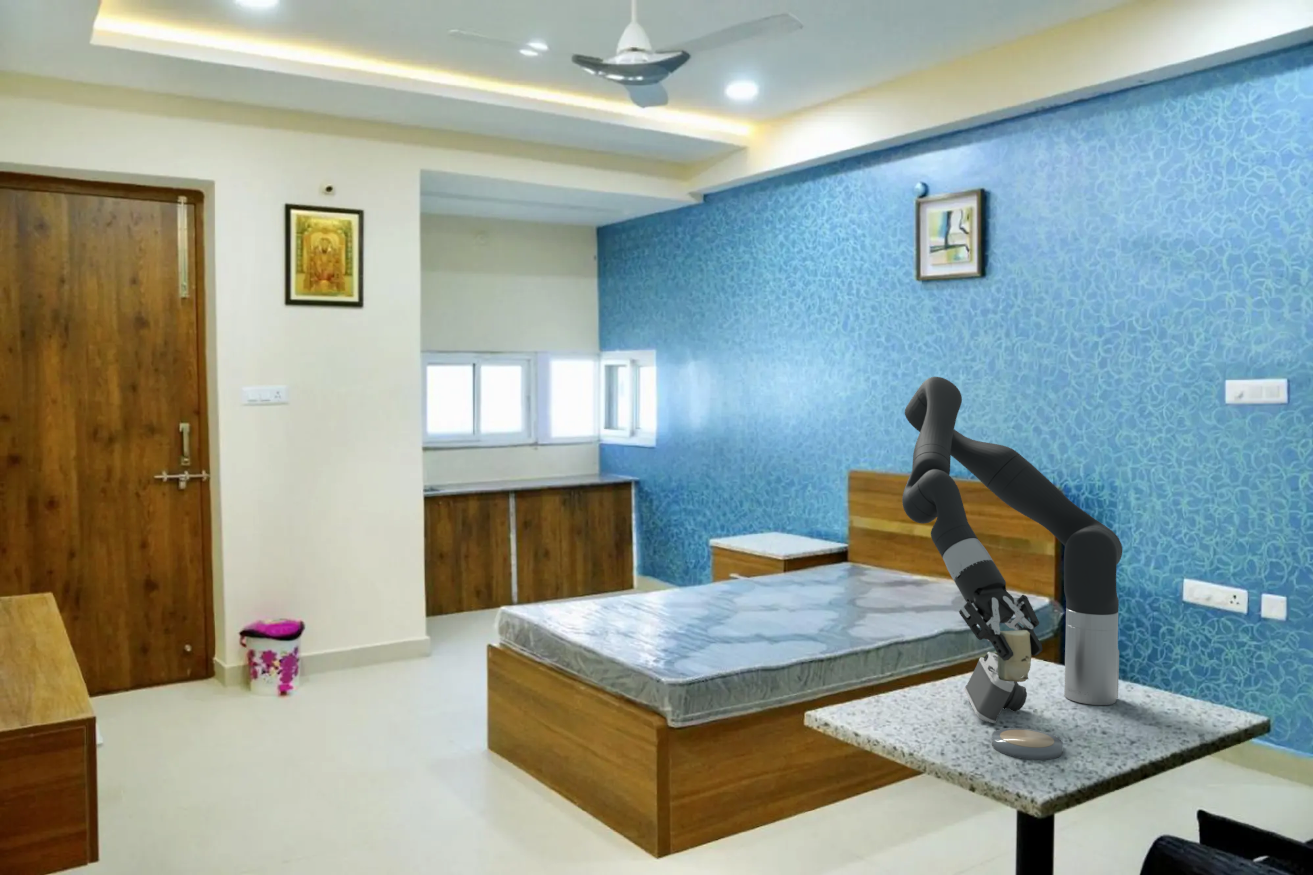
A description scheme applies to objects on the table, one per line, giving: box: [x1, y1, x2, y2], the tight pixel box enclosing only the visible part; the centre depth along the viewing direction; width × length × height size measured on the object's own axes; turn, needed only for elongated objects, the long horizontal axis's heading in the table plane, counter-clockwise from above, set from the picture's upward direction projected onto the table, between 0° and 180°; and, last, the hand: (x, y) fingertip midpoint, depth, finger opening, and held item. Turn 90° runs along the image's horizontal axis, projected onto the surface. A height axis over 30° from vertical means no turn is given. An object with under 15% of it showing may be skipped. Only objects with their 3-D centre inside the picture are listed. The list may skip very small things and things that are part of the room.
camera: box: [963, 651, 1028, 724], centre depth 183 cm, size 9×16×10 cm, turn 173°
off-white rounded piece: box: [997, 630, 1032, 683], centre depth 165 cm, size 6×5×8 cm
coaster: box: [991, 727, 1064, 761], centre depth 164 cm, size 11×11×2 cm
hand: (1023, 655), depth 164 cm, fingers closed on off-white rounded piece, 6 cm apart
